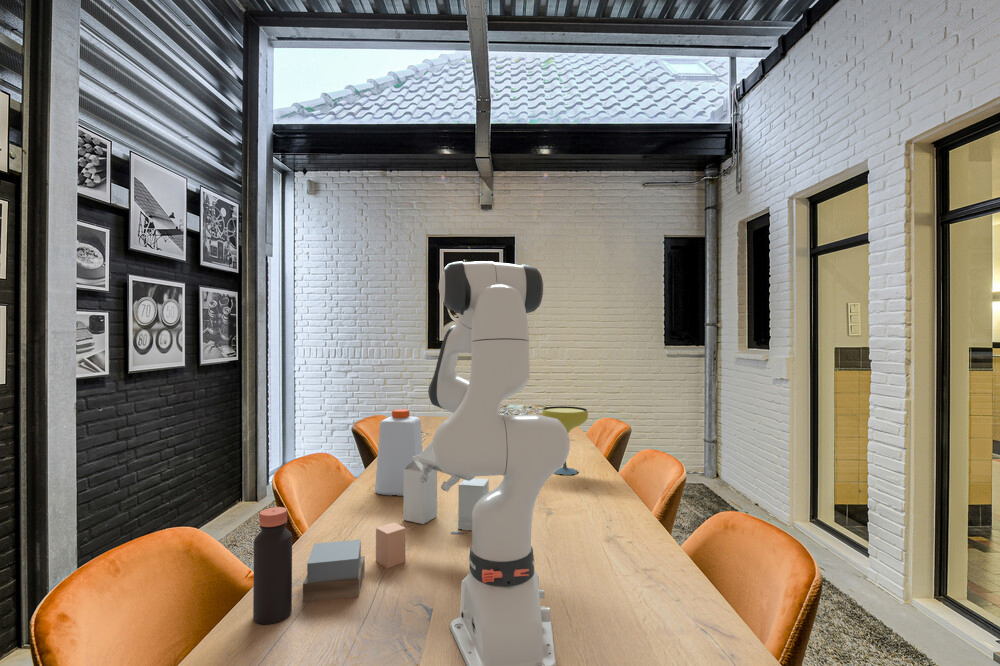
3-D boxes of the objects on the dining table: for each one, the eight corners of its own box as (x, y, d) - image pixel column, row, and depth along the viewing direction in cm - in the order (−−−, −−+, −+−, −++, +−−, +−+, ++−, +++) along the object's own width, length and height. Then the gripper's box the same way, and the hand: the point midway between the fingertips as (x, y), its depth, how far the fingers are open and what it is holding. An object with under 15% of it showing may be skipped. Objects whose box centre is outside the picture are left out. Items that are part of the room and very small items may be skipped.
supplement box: (483, 532, 136) (483, 486, 136) (457, 530, 137) (457, 484, 138) (489, 522, 143) (489, 478, 143) (464, 520, 145) (464, 477, 145)
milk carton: (403, 520, 144) (403, 455, 145) (418, 512, 151) (418, 450, 151) (422, 524, 141) (423, 458, 141) (437, 517, 147) (437, 453, 147)
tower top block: (358, 577, 103) (358, 558, 103) (307, 583, 100) (307, 563, 100) (360, 557, 112) (360, 539, 112) (314, 561, 110) (314, 543, 110)
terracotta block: (405, 561, 118) (405, 527, 118) (387, 568, 115) (387, 533, 115) (393, 554, 122) (393, 522, 122) (375, 561, 118) (375, 527, 118)
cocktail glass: (594, 470, 200) (594, 408, 200) (576, 480, 185) (576, 414, 185) (554, 463, 210) (554, 405, 210) (534, 473, 194) (534, 410, 195)
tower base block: (358, 599, 102) (358, 579, 102) (302, 603, 100) (302, 583, 100) (364, 573, 113) (364, 556, 113) (314, 577, 111) (314, 559, 111)
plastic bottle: (413, 498, 165) (414, 414, 165) (371, 495, 167) (371, 412, 167) (427, 484, 180) (427, 407, 180) (388, 482, 182) (388, 406, 182)
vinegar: (281, 601, 100) (282, 502, 100) (298, 613, 95) (299, 510, 96) (246, 616, 95) (247, 511, 95) (263, 629, 90) (264, 520, 90)
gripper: (431, 429, 140) (402, 470, 133) (480, 440, 125) (450, 487, 118) (443, 442, 143) (415, 483, 136) (493, 455, 128) (464, 501, 122)
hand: (432, 485), depth 127 cm, fingers open, 8 cm apart
